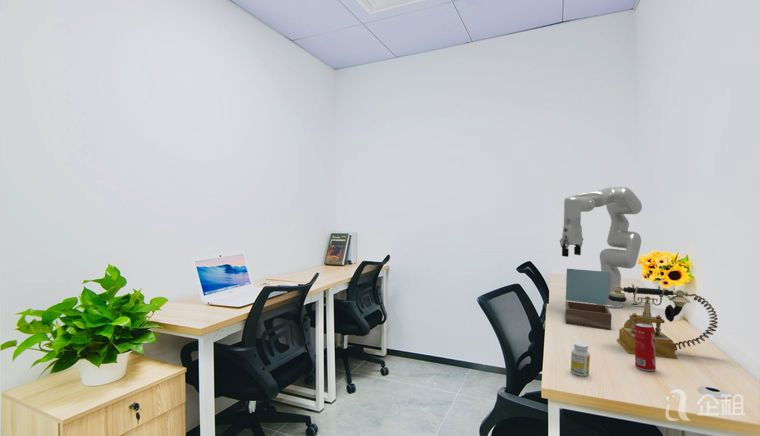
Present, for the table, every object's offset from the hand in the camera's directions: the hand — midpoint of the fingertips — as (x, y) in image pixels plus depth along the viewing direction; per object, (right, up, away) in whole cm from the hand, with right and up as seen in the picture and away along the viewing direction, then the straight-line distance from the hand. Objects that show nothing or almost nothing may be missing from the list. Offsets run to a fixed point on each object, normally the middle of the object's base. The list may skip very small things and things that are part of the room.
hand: (571, 255), depth 190 cm
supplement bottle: (-31, -33, -66) cm, 79 cm away
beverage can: (-6, -33, -61) cm, 70 cm away
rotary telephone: (+11, -32, -43) cm, 55 cm away
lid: (+6, -15, -3) cm, 16 cm away
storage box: (+2, -31, -11) cm, 33 cm away
